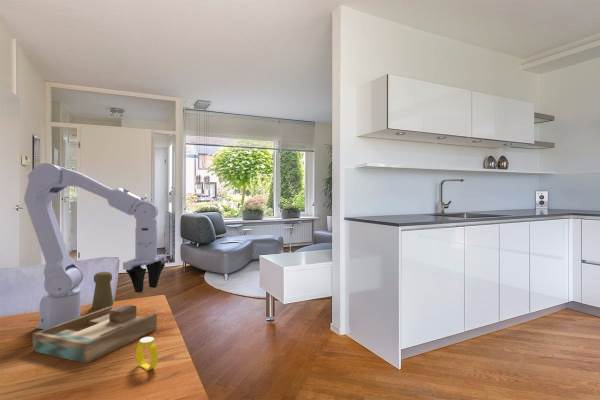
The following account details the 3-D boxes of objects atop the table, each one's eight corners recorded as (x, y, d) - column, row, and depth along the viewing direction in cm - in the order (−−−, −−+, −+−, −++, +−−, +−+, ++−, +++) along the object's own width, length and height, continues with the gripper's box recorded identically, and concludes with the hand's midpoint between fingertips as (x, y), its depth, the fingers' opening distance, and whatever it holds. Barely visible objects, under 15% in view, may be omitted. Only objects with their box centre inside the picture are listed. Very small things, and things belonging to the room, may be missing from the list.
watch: (160, 370, 68) (161, 341, 68) (147, 376, 66) (149, 346, 65) (144, 359, 71) (145, 332, 71) (131, 365, 69) (133, 337, 69)
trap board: (32, 351, 75) (32, 333, 75) (108, 320, 94) (108, 306, 94) (87, 363, 70) (87, 344, 70) (156, 328, 89) (156, 313, 89)
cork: (103, 309, 103) (103, 274, 103) (87, 308, 105) (87, 273, 105) (117, 303, 109) (118, 270, 109) (102, 302, 111) (102, 269, 111)
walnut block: (109, 321, 87) (109, 310, 87) (125, 315, 92) (125, 304, 92) (121, 323, 86) (121, 311, 86) (136, 317, 90) (136, 306, 90)
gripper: (137, 247, 88) (137, 298, 88) (174, 240, 102) (174, 284, 102) (117, 245, 90) (116, 295, 90) (156, 239, 104) (156, 282, 104)
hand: (146, 289), depth 96 cm, fingers open, 5 cm apart
